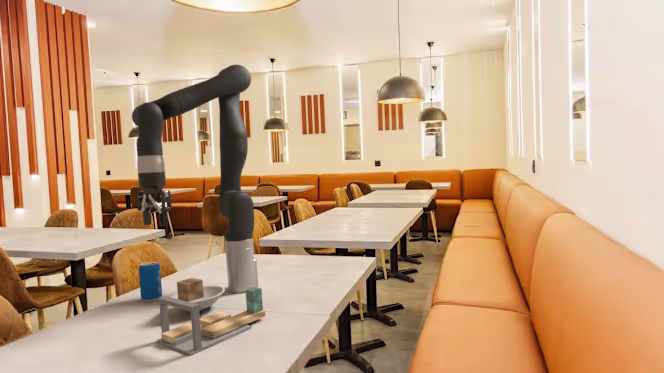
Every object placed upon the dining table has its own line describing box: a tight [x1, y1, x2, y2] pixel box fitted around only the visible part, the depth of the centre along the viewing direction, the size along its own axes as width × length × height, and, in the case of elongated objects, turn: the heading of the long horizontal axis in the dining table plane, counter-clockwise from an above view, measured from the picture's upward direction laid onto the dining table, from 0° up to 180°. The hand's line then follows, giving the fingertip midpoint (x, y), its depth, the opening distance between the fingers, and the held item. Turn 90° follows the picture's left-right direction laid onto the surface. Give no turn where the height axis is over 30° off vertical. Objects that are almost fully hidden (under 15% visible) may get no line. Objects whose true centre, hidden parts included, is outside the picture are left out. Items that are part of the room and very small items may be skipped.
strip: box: [201, 287, 266, 338], centre depth 111 cm, size 17×5×8 cm, turn 143°
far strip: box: [160, 322, 203, 343], centre depth 106 cm, size 8×5×2 cm, turn 143°
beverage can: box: [138, 260, 163, 303], centre depth 141 cm, size 6×6×12 cm
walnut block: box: [176, 277, 204, 302], centre depth 123 cm, size 5×5×5 cm
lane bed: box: [156, 295, 252, 356], centre depth 108 cm, size 18×14×11 cm
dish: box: [170, 284, 226, 312], centre depth 128 cm, size 18×14×5 cm
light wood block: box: [200, 310, 232, 327], centre depth 114 cm, size 7×5×2 cm, turn 143°
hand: (155, 225), depth 130 cm, fingers open, 8 cm apart
